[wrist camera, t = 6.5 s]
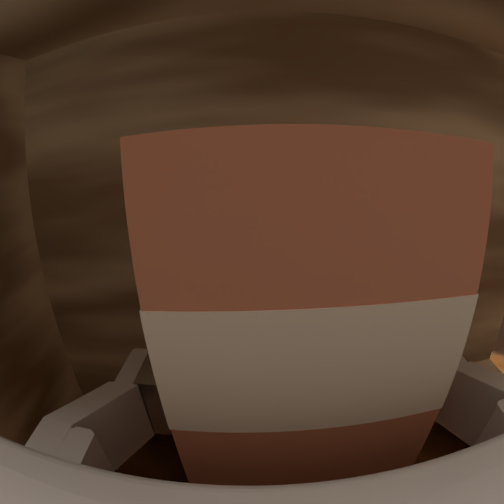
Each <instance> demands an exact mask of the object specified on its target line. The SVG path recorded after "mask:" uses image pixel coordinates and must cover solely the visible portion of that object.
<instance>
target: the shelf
mask: <svg viewBox="0 0 504 504" xmlns="http://www.w3.org/2000/svg"><path fill="white" fill-rule="evenodd" d="M259 124H327V125H352V126H368V127H382V128H393V129H404V130H413V131H422V132H430V133H437V134H445V135H451V136H458V137H464V138H470V139H475V140H481V141H486V142H491V143H493V147H494V150H493V184H492V199H491V210H490V220H489V229H488V236H487V243H486V250H485V256H484V262H483V268H482V273H481V278H480V283H479V288H478V292H477V294H478V299H477V304H476V308H475V312H474V315H473V319H472V323H471V327H470V330H469V334H468V337H467V340H466V344H465V347H464V350H463V353H462V356H463V357H464V358H465V359H466V361H467V362H471V361H472V362H475V363H477V364H479V365H482V366H484V367H487V368H489V369H492V370H494V371H496V372H499V373H501V374H503V373H502V372H501V371H500V370H499V369H498V368H497V367H496V366H495V364H494V363H493V362H492V361H491V360H490V359H489V358H490V355H491V352H492V349H493V346H494V344H495V341H496V338H497V335H498V332H499V328H500V325H501V322H502V318H503V315H504V0H0V436H1V437H3V438H6V439H8V440H11V441H13V442H16V443H18V444H21V445H23V446H25V445H26V443H27V441H28V440H29V438H30V437H31V435H32V434H33V432H34V431H35V429H36V427H37V426H38V424H39V423H40V421H41V420H42V418H43V417H44V416H46V415H48V414H50V413H52V412H53V411H55V410H57V409H59V408H61V407H63V406H65V405H67V404H69V403H71V402H72V401H74V400H76V399H78V398H80V397H82V396H84V395H85V394H87V393H89V392H91V391H93V390H95V389H96V388H98V387H100V386H102V385H104V384H106V383H107V382H114V381H115V379H116V378H117V376H118V374H119V372H120V370H121V369H122V367H123V365H124V363H125V361H126V360H127V358H128V356H129V354H130V353H131V351H132V350H133V349H135V348H143V349H147V345H146V341H145V337H144V332H143V327H142V323H141V318H140V313H139V311H140V310H141V308H140V303H139V298H138V292H137V286H136V281H135V275H134V269H133V262H132V256H131V249H130V242H129V234H128V226H127V218H126V209H125V200H124V189H123V178H122V165H121V150H120V137H125V136H131V135H138V134H146V133H154V132H162V131H171V130H181V129H192V128H203V127H217V126H234V125H259Z"/></svg>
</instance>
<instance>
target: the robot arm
mask: <svg viewBox="0 0 504 504" xmlns="http://www.w3.org/2000/svg"><path fill="white" fill-rule="evenodd" d="M435 421H436V422H437V423H439V424H440V425H441V426H443V427H444V428H446V429H447V430H448V431H450V432H451V433H453V434H454V435H455V436H457V437H458V438H460V439H461V440H462V441H464V442H465V443H467V444H468V445H470V446H471V447H468V448H465V449H463V450H460V451H457V452H454V453H451V454H448V455H445V456H442V457H438V458H435V459H432V460H428V461H425V462H421V463H418V464H414V465H410V466H406V467H402V468H398V469H393V470H389V471H384V472H379V473H374V474H369V475H364V476H358V477H352V478H345V479H338V480H331V481H322V482H313V483H301V484H287V485H261V486H236V485H210V484H195V483H184V482H175V481H166V480H158V479H151V478H145V477H139V476H133V475H127V474H122V473H117V472H115V470H116V469H117V468H118V467H119V466H121V465H122V464H123V463H124V462H125V461H126V460H127V459H129V458H130V457H131V456H132V455H133V454H134V453H135V452H136V451H138V450H139V449H140V448H141V447H142V446H143V445H144V444H145V443H146V442H148V441H149V440H150V439H151V438H152V437H153V436H154V433H155V434H168V435H172V432H171V430H170V429H169V427H168V424H167V421H166V417H165V414H164V411H163V407H162V404H161V400H160V397H159V393H158V389H157V386H156V382H155V378H154V374H153V370H152V366H151V362H150V358H149V354H148V350H147V349H143V348H135V349H133V350H132V351H131V353H130V354H129V356H128V358H127V360H126V361H125V363H124V365H123V367H122V369H121V370H120V372H119V374H118V376H117V378H116V379H115V381H114V382H107V383H106V384H104V385H102V386H100V387H98V388H96V389H95V390H93V391H91V392H89V393H87V394H85V395H84V396H82V397H80V398H78V399H76V400H74V401H72V402H71V403H69V404H67V405H65V406H63V407H61V408H59V409H57V410H55V411H53V412H52V413H50V414H48V415H46V416H44V417H43V418H42V420H41V421H40V423H39V424H38V426H37V427H36V429H35V431H34V432H33V434H32V435H31V437H30V438H29V440H28V441H27V443H26V445H25V446H23V445H21V444H18V443H16V442H13V441H11V440H8V439H6V438H3V437H1V436H0V504H504V374H501V373H499V372H496V371H494V370H492V369H489V368H487V367H484V366H482V365H479V364H477V363H475V362H472V361H471V362H467V361H466V359H465V358H464V357H463V356H461V359H460V362H459V365H458V368H457V371H456V373H455V376H454V379H453V382H452V384H451V387H450V389H449V392H448V395H447V397H446V400H445V402H444V404H443V407H442V408H440V410H439V413H438V415H437V417H436V420H435Z"/></svg>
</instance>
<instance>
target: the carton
mask: <svg viewBox="0 0 504 504" xmlns="http://www.w3.org/2000/svg"><path fill="white" fill-rule="evenodd" d="M120 150H121V165H122V178H123V189H124V200H125V209H126V218H127V226H128V234H129V242H130V249H131V256H132V262H133V269H134V275H135V281H136V286H137V292H138V298H139V303H140V308H141V310H140V311H139V313H140V318H141V323H142V327H143V332H144V337H145V341H146V345H147V350H148V354H149V358H150V362H151V366H152V370H153V374H154V378H155V382H156V386H157V389H158V393H159V397H160V400H161V404H162V407H163V411H164V414H165V417H166V421H167V424H168V427H169V429H170V430H171V432H172V435H173V438H174V441H175V444H176V447H177V450H178V453H179V456H180V459H181V462H182V465H183V468H184V471H185V474H186V476H187V479H188V482H189V483H195V484H210V485H236V486H261V485H287V484H301V483H313V482H322V481H331V480H338V479H345V478H352V477H358V476H364V475H369V474H374V473H379V472H384V471H389V470H393V469H398V468H402V467H406V466H410V465H413V464H414V462H415V461H416V459H417V457H418V455H419V453H420V451H421V449H422V447H423V445H424V443H425V441H426V439H427V437H428V435H429V433H430V431H431V428H432V426H433V424H434V422H435V420H436V417H437V415H438V413H439V410H440V408H442V407H443V404H444V402H445V400H446V397H447V395H448V392H449V389H450V387H451V384H452V382H453V379H454V376H455V373H456V371H457V368H458V365H459V362H460V359H461V356H462V353H463V350H464V347H465V344H466V340H467V337H468V334H469V330H470V327H471V323H472V319H473V315H474V312H475V308H476V304H477V299H478V294H477V292H478V288H479V283H480V278H481V273H482V268H483V262H484V256H485V250H486V243H487V236H488V229H489V220H490V210H491V199H492V184H493V150H494V147H493V143H491V142H486V141H481V140H475V139H470V138H464V137H458V136H451V135H445V134H437V133H430V132H422V131H413V130H404V129H393V128H382V127H368V126H352V125H327V124H259V125H234V126H217V127H203V128H192V129H181V130H171V131H162V132H154V133H146V134H138V135H131V136H125V137H120Z"/></svg>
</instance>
